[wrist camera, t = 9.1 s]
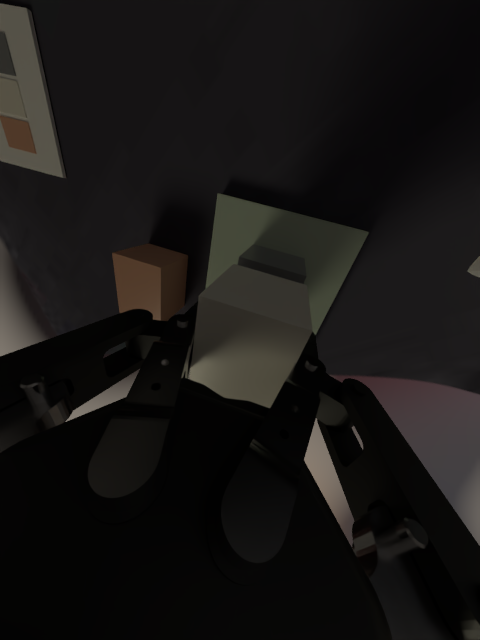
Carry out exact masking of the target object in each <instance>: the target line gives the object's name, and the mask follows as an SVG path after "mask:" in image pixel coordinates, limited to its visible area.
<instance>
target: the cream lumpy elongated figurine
mask: <svg viewBox="0 0 480 640" xmlns="http://www.w3.org/2000/svg"><path fill="white" fill-rule="evenodd" d="M468 272H469V273H471V274H473V275H475V276H477V277H480V256H479V257H478V258H477V259H476V260H475V262H474V263H473V264H472V265H471V266H470V268H469V269H468Z"/></svg>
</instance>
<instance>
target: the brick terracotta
mask: <svg viewBox="0 0 480 640" xmlns="http://www.w3.org/2000/svg"><path fill="white" fill-rule="evenodd" d="M112 255H113V263H114V271H115V279H116V287H117V295H118V303H119V311H120V313H123V312H125V311H128V310H132V309H145V310H148V311H150V312H151V313H152V314H153V320H161V321H167V320H169V319H170V318H171V317H172V316H173V315H174V314H175V313H176V312H178V311H179V310H180V309H181V308H182V307H183V306H184V304H185V291H186V278H187V265H188V255H185V254H182V253H179V252H175V251H172V250H169V249H166V248H162V247H159V246H156V245H152V244H149V243H148V244H144V245H140V246H137V247H133V248H129V249H125V250H121V251H117V252H113V253H112Z"/></svg>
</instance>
